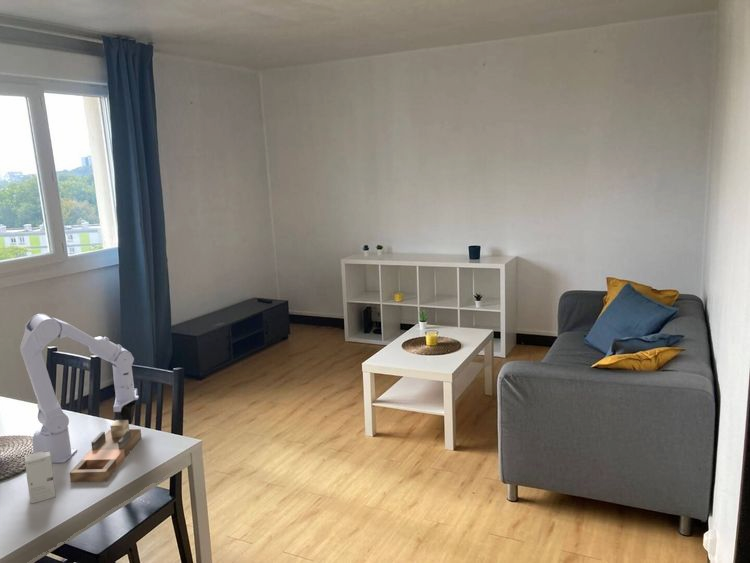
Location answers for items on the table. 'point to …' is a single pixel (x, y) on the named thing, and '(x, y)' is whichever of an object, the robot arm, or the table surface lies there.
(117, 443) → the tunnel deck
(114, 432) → the maple block
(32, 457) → the skincare box
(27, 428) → the table surface
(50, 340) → the robot arm
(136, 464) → the table surface
